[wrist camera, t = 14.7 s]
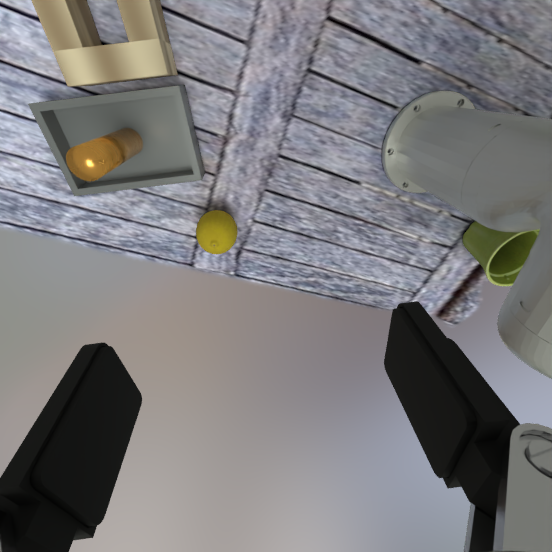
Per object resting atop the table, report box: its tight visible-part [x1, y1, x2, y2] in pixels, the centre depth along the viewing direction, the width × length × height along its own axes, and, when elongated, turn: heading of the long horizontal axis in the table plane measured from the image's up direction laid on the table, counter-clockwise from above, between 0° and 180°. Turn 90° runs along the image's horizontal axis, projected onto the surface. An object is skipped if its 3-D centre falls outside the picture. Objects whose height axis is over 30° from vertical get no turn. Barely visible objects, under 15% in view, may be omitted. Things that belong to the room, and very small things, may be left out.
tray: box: [28, 85, 205, 196], centre depth 35 cm, size 16×10×4 cm, turn 95°
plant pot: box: [463, 221, 540, 286], centre depth 45 cm, size 9×9×9 cm
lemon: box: [196, 210, 237, 254], centre depth 40 cm, size 6×6×8 cm
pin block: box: [32, 0, 178, 86], centre depth 28 cm, size 10×10×5 cm
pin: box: [66, 128, 143, 181], centre depth 31 cm, size 3×3×12 cm
